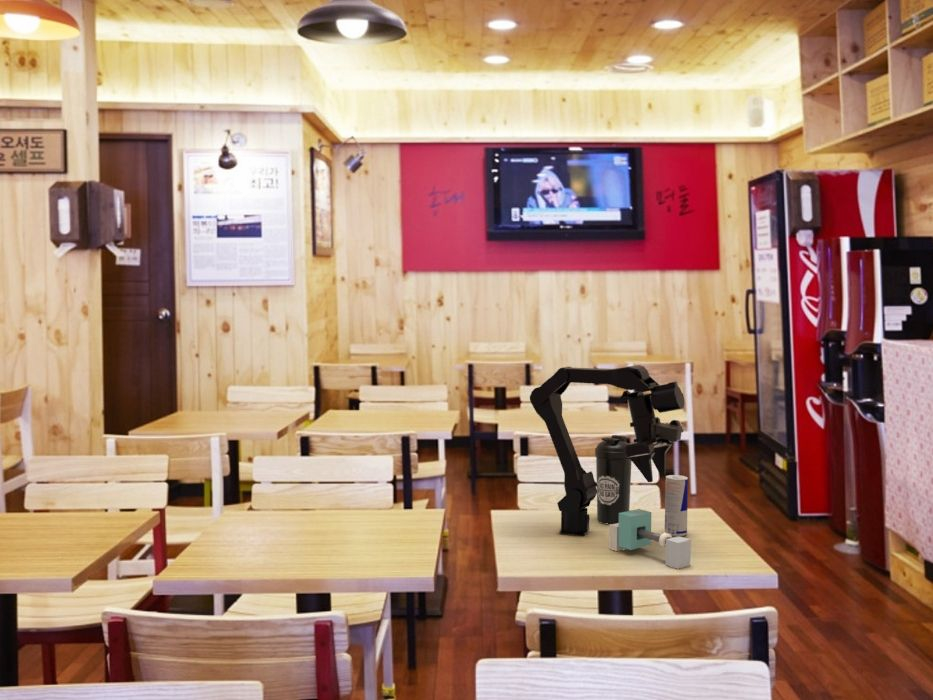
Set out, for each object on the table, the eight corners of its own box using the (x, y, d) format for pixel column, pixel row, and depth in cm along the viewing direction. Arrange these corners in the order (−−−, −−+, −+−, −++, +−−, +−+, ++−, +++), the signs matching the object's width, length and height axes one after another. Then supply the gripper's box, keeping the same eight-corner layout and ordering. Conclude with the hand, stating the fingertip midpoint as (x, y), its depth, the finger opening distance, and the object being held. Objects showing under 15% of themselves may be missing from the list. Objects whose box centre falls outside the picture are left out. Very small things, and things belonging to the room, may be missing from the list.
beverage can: (687, 537, 227) (688, 479, 226) (664, 536, 228) (665, 478, 227) (686, 532, 232) (687, 474, 231) (664, 530, 233) (665, 474, 232)
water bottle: (587, 522, 242) (588, 437, 240) (604, 514, 250) (605, 432, 249) (622, 527, 236) (623, 441, 235) (638, 519, 245) (639, 436, 243)
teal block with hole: (618, 546, 214) (618, 513, 214) (638, 541, 219) (638, 508, 218) (630, 549, 211) (631, 516, 211) (650, 544, 215) (651, 512, 215)
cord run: (609, 549, 217) (609, 522, 216) (629, 544, 221) (629, 517, 221) (673, 570, 201) (674, 541, 200) (694, 564, 205) (694, 536, 205)
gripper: (661, 415, 208) (676, 481, 207) (686, 406, 224) (699, 467, 223) (617, 423, 214) (631, 487, 213) (644, 413, 230) (657, 473, 229)
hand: (656, 478), depth 219 cm, fingers open, 9 cm apart
